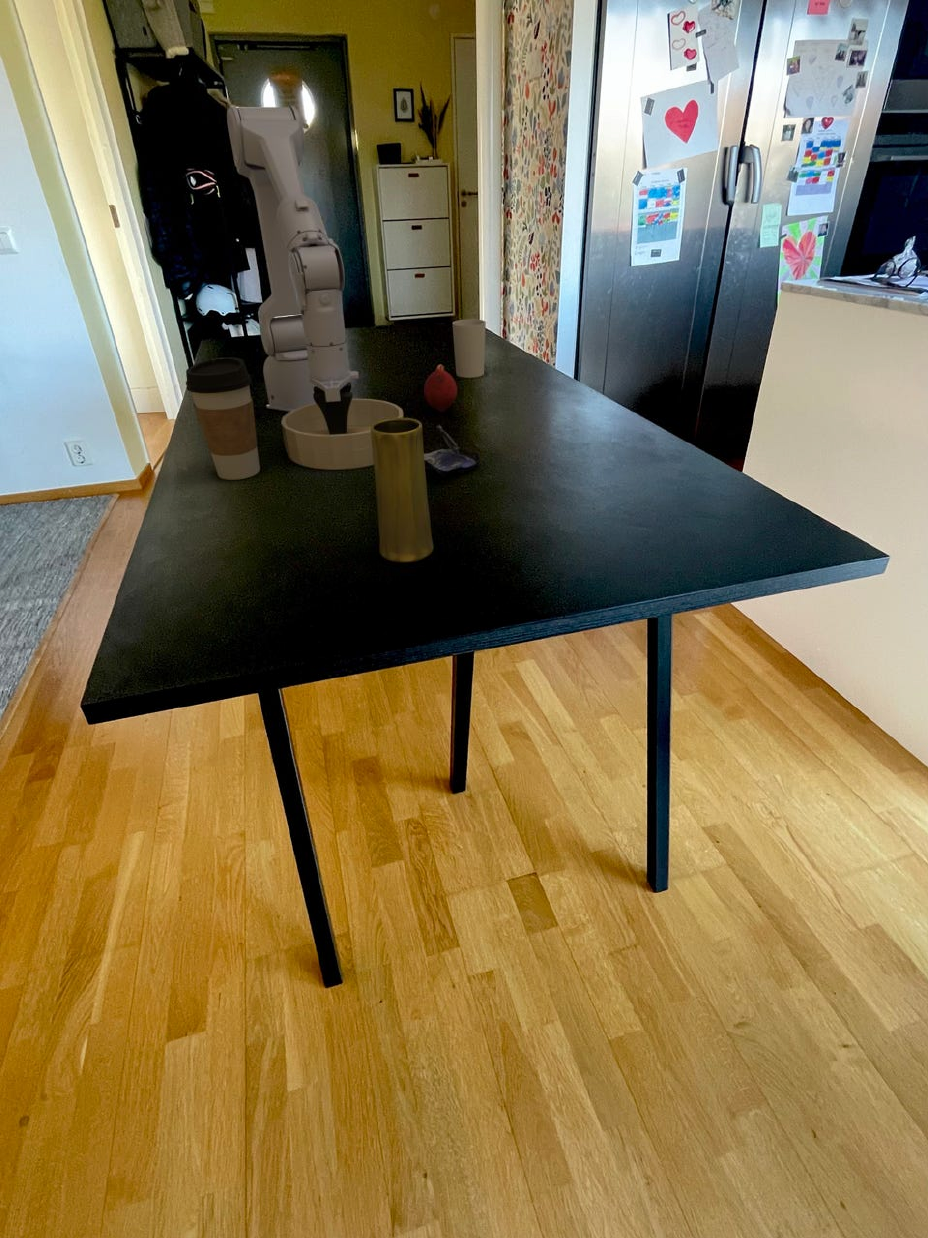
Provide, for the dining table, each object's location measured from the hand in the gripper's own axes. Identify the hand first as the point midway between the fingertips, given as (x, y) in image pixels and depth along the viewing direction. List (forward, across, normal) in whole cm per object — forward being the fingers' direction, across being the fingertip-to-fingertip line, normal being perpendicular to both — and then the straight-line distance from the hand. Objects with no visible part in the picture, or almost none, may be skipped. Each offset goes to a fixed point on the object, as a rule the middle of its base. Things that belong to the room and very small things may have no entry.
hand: (338, 436), depth 102 cm
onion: (+2, +15, -18) cm, 23 cm away
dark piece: (+2, -11, -13) cm, 18 cm away
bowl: (+2, 0, -1) cm, 2 cm away
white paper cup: (+2, +39, -28) cm, 48 cm away
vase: (+2, -35, -6) cm, 36 cm away
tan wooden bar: (+1, 0, 0) cm, 1 cm away
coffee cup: (+2, -6, +15) cm, 16 cm away
